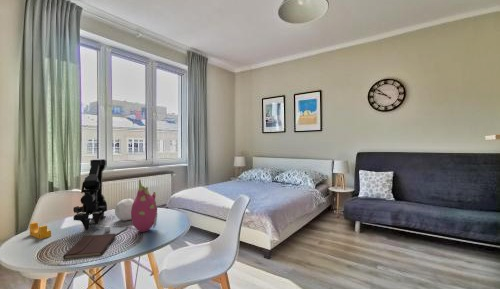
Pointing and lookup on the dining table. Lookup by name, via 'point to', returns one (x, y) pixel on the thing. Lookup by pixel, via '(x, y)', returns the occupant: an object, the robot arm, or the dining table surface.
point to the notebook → (90, 246)
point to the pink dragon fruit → (144, 210)
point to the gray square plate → (109, 230)
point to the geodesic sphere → (124, 209)
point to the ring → (92, 227)
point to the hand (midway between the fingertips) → (91, 227)
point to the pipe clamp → (39, 231)
